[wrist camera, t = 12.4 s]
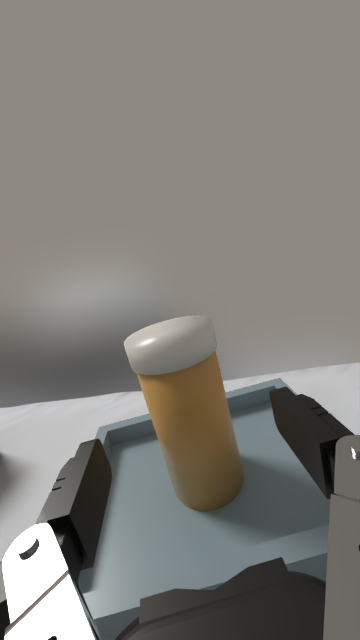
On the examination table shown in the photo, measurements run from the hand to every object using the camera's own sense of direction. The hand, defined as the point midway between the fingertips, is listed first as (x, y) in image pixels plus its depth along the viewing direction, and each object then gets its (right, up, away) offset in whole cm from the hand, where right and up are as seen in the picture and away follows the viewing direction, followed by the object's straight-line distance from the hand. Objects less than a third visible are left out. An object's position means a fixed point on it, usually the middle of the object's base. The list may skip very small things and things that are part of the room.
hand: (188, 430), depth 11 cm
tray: (+2, -7, +6) cm, 9 cm away
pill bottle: (+2, -6, +6) cm, 9 cm away
